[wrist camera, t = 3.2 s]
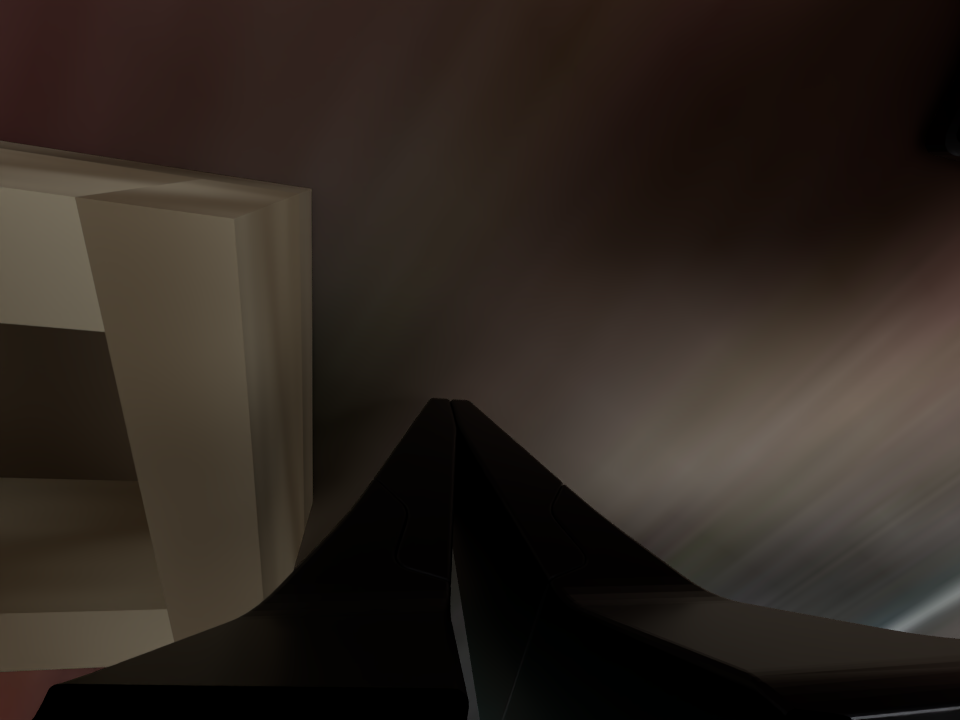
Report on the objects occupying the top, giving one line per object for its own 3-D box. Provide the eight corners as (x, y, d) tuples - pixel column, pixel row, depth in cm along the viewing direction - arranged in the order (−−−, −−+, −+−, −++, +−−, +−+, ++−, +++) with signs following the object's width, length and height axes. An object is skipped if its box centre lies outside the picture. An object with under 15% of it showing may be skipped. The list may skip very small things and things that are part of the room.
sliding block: (311, 188, 8) (234, 218, 5) (312, 502, 12) (267, 659, 8) (-229, 105, 7) (-958, 56, 3) (-47, 495, 10) (-300, 686, 6)
